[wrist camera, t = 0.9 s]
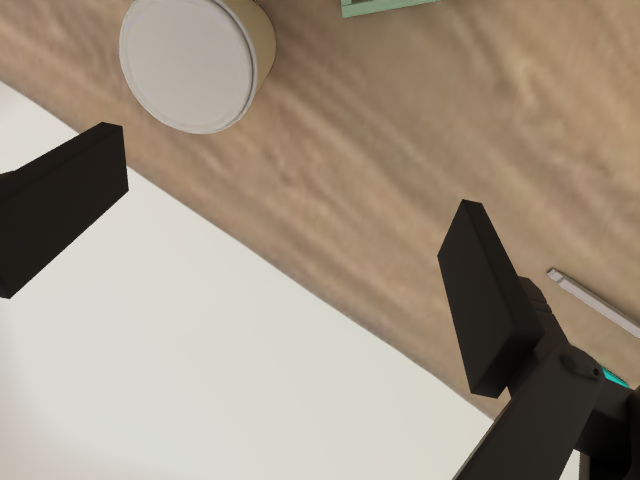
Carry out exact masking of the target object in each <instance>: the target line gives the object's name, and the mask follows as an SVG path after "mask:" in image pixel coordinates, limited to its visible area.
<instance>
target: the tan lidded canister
mask: <svg viewBox="0 0 640 480" xmlns="http://www.w3.org/2000/svg"><path fill="white" fill-rule="evenodd" d="M275 54H276V38H275V33H274V29H273V27H272V24H271V22H270V20H269V18H268V16H267V15H266V14H265V12H264V11H263V10H262V9H261V7H260V6H259V5H257V4H256V3H255V2H254V1H252V0H135V1H134V2H133V3H132V5H131V6H130V8H129V9H128V11H127V13H126V15H125V17H124V20H123V23H122V26H121V31H120V38H119V56H120V63H121V66H122V70H123V73H124V76H125V79H126V81H127V83H128V85H129V87H130V89H131V91H132V92H133V94H134V95H135V97H136V98H137V100H138V101H139V102H140V103H141V105H142V106H143V107H144V108H145V109H146V110H147V111H148V112H149V113H150V114H151V115H153V116H154V117H155V118H157V119H158V120H160V121H161V122H163V123H164V124H166V125H168V126H170V127H173V128H175V129H178V130H181V131H184V132H189V133H194V134H210V133H215V132H219V131H222V130H224V129H226V128H228V127H230V126H232V125H233V124H235V123H236V122H237V121H238V120H239V119H241V117H242V116H243V115H244V114H245V113H246V111H247V110H248V108H249V107H250V105H251V103H252V101H253V98H254V96H255V95H256V93H257V91H258V90H259V88H260V86H261V85H262V83H263V81H264V80H265V78H266V77H267V75H268V73H269V71H270V69H271V67H272V65H273V62H274V59H275Z"/></svg>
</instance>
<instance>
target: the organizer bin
mask: <svg viewBox="0 0 640 480" xmlns="http://www.w3.org/2000/svg"><path fill="white" fill-rule="evenodd" d="M340 1H341V9H342V17H343V18H347V17H353V16H358V15H364V14H369V13H375V12H380V11H386V10H391V9H397V8H402V7H408V6H413V5H419V4H424V3H430V2H435V1H441V0H355V1H354V0H340Z"/></svg>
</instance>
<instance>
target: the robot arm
mask: <svg viewBox="0 0 640 480" xmlns="http://www.w3.org/2000/svg"><path fill="white" fill-rule="evenodd" d="M128 190H129V189H128V179H127V168H126V158H125V148H124V138H123V128H122V126H119V125H114V124H110V123H105V122H101V123H99V124H97V125H96V126H94V127H92V128H90V129H88V130H87V131H85V132H83V133H81V134H79V135H78V136H76V137H74V138H72V139H71V140H69V141H67V142H65V143H63V144H62V145H60V146H58V147H56V148H55V149H53V150H51V151H49V152H47V153H46V154H44V155H42V156H40V157H38V158H37V159H35V160H33V161H31V162H30V163H28V164H26V165H24V166H22V167H20V168H19V169H17V170H15V171H10V172H6V173H3V174H0V297H2V298H7V299H10V298H11V297H12V296H13V295H14V294H16V292H18V291H19V290H20V289H21V288H22V287H23V286H24V285H25V284H27V282H29V281H30V280H31V279H32V278H33V277H34V276H35V275H37V274H38V273H39V272H40V271H41V270H42V269H43V268H44V267H45V266H46V265H47V264H48V263H50V262H51V261H52V260H53V259H54V258H55V257H56V256H57V255H58V254H60V252H62V251H63V250H64V249H65V248H66V247H67V246H68V245H70V244H71V243H72V242H73V241H74V240H75V239H76V238H77V237H78V236H79V235H80V234H81V233H83V232H84V231H85V230H86V229H87V228H88V227H89V226H90V225H92V224H93V223H94V222H95V221H96V220H97V219H98V218H99V217H100V216H101V215H103V214H104V213H105V212H106V211H107V210H108V209H109V208H110V207H111V206H112V205H114V203H116V202H117V201H118V200H119V199H120V198H121V197H122V196H123V195H125V194H126V193H127V192H128ZM437 257H438V261H439V265H440V269H441V273H442V277H443V281H444V285H445V290H446V294H447V298H448V302H449V306H450V310H451V314H452V318H453V322H454V326H455V330H456V334H457V338H458V343H459V347H460V351H461V355H462V359H463V363H464V367H465V371H466V375H467V379H468V383H469V387H470V391H471V393H472V394H477V395H481V396H486V397H491V398H496V399H497V398H498V397H499V396H500V394H501V393H502V392H503V390H504V389H505V388H506V386H507V387H508V390H509V393H510V396H511V400H510V401H509V402H508V404H507V405H506V406H505V408H504V409H503V410H502V411H501V413H500V414H499V415H498V417H497V418H496V419H495V420H494V423H493V424H492V425H491V427H490V428H489V430H488V431H487V432H486V434H485V435H484V436H483V438H482V439H481V440H480V442H479V443H478V445H477V446H476V447H475V449H474V450H473V451H472V453H471V454H470V456H469V457H468V458H467V460H466V461H465V462H464V464H463V465H462V466H461V468H460V469H459V470H458V472H457V473H456V475H455V476H454V477H453V479H452V480H559V478H560V476H561V474H562V472H563V470H564V468H565V465H566V463H567V461H568V459H569V457H570V455H571V453H572V451H573V449H575V450H577V451H579V452H580V465H579V480H640V386H639V387H637V388H636V389H635V390H632V389H630V388H628V387H625V386H623V385H621V384H619V383H616V382H614V381H612V380H609V379H607V378H605V374H604V372H603V370H602V368H601V366H600V365H599V364H598V363H597V362H596V361H595V360H594V359H593V358H592V357H591V356H589V355H588V354H587V353H586V352H584V351H582V350H580V349H578V348H576V347H575V346H571V345H570V343H569V342H568V340H567V338H566V336H565V334H564V332H563V331H562V329H561V327H560V325H559V323H558V321H557V319H556V318H555V316H554V314H552V310H551V308H550V307H549V305H548V304H547V301H546V299H545V297H544V296H543V294H542V292H541V290H540V289H539V288H538V287H537V286H536V285H535V284H534V283H533V282H532V281H531V280H530V279H529V278H525V277H520V276H518V275H517V273H516V271H515V269H514V267H513V265H512V263H511V261H510V259H509V257H508V255H507V253H506V251H505V249H504V247H503V245H502V243H501V241H500V239H499V237H498V235H497V233H496V231H495V229H494V227H493V225H492V223H491V221H490V219H489V217H488V215H487V213H486V211H485V209H484V207H483V205H482V203H478V202H474V201H469V200H464V199H462V201H461V203H460V205H459V208H458V210H457V212H456V214H455V217H454V219H453V221H452V223H451V226H450V228H449V230H448V233H447V235H446V237H445V239H444V242H443V244H442V246H441V248H440V251H439V253H438V255H437Z"/></svg>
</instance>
